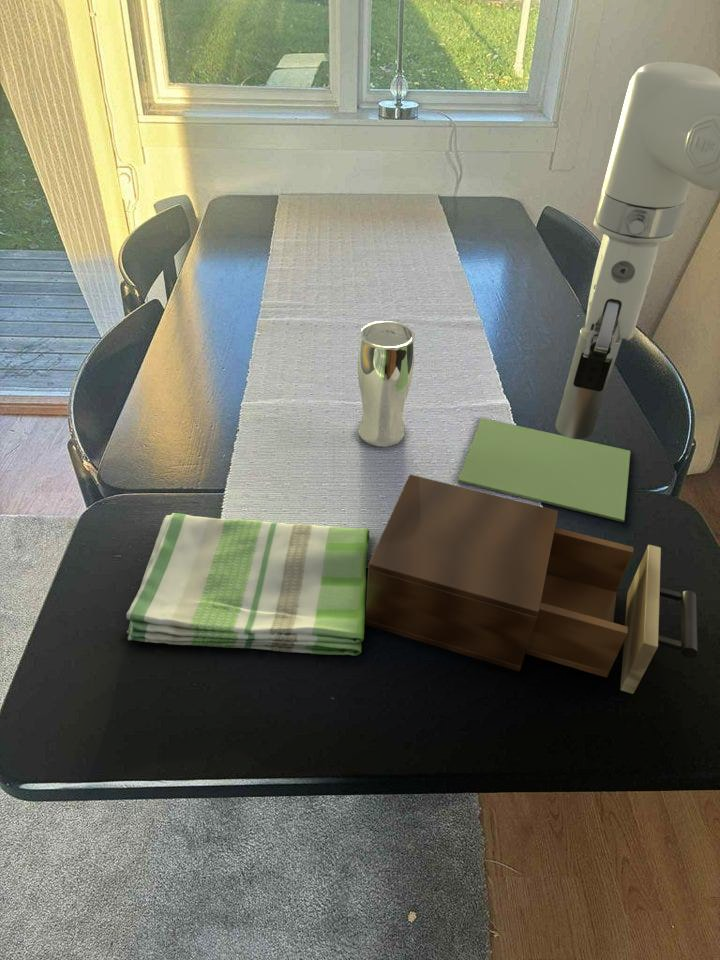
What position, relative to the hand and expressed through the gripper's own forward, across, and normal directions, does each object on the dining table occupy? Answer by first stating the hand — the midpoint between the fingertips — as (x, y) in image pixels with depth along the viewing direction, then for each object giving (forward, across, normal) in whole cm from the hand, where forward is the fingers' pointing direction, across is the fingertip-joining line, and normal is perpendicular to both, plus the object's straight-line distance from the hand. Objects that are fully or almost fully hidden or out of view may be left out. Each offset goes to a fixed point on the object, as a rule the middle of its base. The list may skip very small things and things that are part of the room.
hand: (590, 374), depth 79 cm
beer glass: (+15, 0, +24) cm, 28 cm away
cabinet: (+15, -24, +8) cm, 29 cm away
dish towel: (+15, -30, +28) cm, 44 cm away
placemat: (+15, +1, +2) cm, 15 cm away
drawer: (+14, -24, -5) cm, 28 cm away
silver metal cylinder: (+8, 0, 0) cm, 8 cm away
